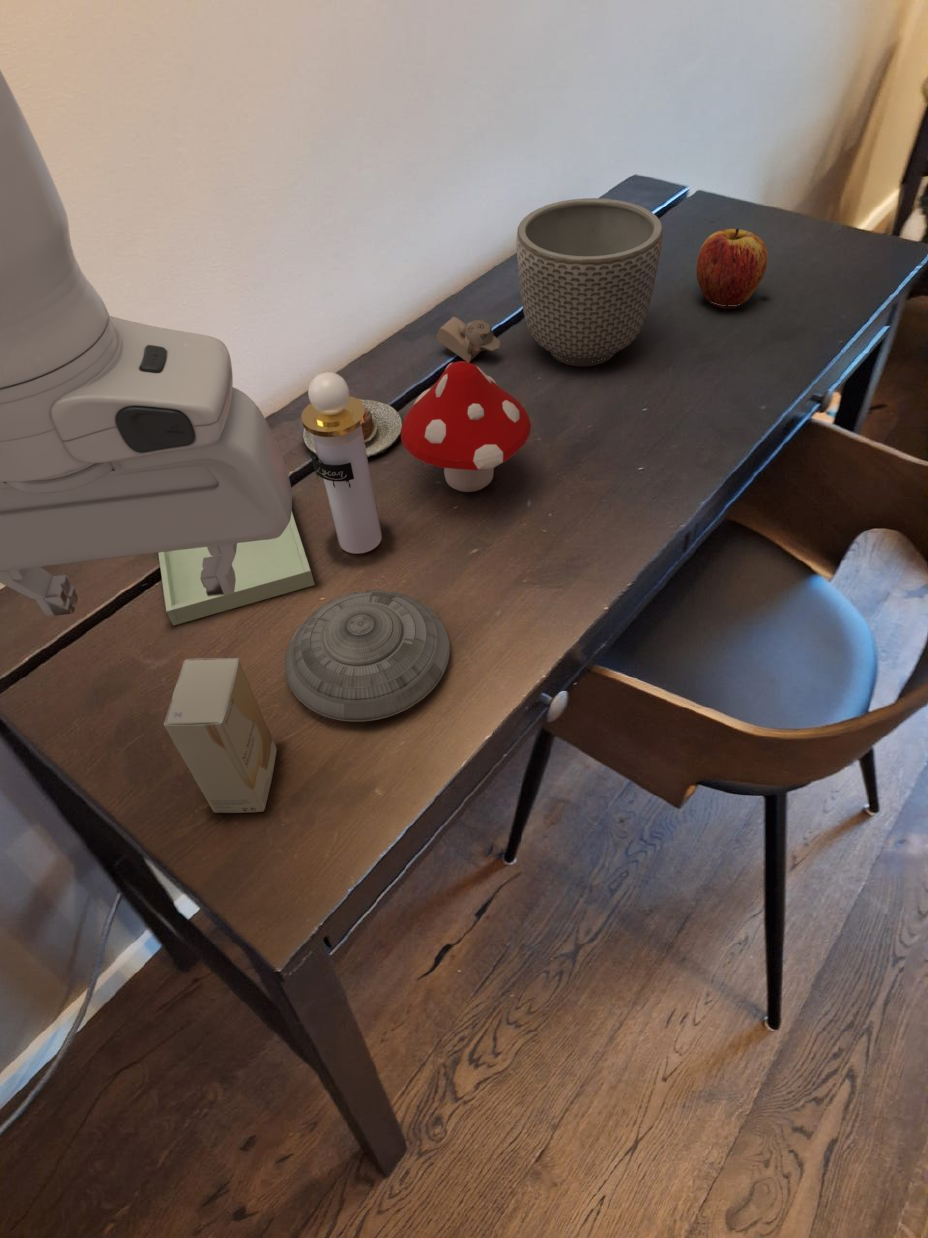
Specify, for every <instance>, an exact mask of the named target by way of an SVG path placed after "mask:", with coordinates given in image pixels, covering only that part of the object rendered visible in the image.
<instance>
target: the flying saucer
mask: <svg viewBox="0 0 928 1238" xmlns="http://www.w3.org/2000/svg"><path fill="white" fill-rule="evenodd" d="M450 645H451V644H450V639H449V634H448V631H447V629H446V627H445V625H444V623H443V622H442V620H441V619H440V617H439V616H438V615H437V614H436V613H435V612H434V611H433V610H432V609H431V608H429V607H428V606H427V605H426V604H424V603H423V602H421V601H419V600H418V599H415V598H414V597H411V596H409V595H406V594H404V593H400V592H397V591H391V590H380V589H373V590H369V589H368V590H362V591H361V590H360V591H355V592H350V593H347V594H344V595H340V596H338V597H336V598H334V599H331V600H329V601H328V602H326V603H324V604H322V605H320V607H318V608H317V609H316V610H314V611H313V612H312V613H310V614H309V615H308V616H307V617H306V618H305V619H304V620H303V621H302V622H301V624H299V626H298V628H297V629H296V630H295V631H294V634H293V635H292V637H291V639H290V641H289V643H288V646H287V649H286V652H285V658H284V674H285V678H286V681H287V684H288V687H289V689H290V691H291V692H292V694H293V695H294V697H296V699H297V700H298V701H299V702H300V703H301V704H302V705H304V706H305V707H306V708H308V709H309V710H311V711H313V712H314V713H316V714H318V715H321V716H323V717H326V718H329V719H332V720H337V721H343V722H356V723H359V722H360V723H361V722H368V721H369V722H371V721H377V720H382V719H385V718H389V717H392V716H395V715H398V714H400V713H402V712H404V711H406V710H408V709H410V708H412V707H413V706H415V705H416V704H418V703H420V702H421V701H422V700H423V699H425V698H426V697H427V696H428V695H429V694H430V693H431V692H432V691H433V690H434V689H435V687H436V686H438V684H439V682H440V680H441V679H442V678H443V676H444V673H445V672H446V669H447V667H448V663H449V659H450V654H451V653H450V652H451V648H450V647H451V646H450Z"/></svg>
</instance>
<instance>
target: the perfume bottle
mask: <svg viewBox="0 0 928 1238" xmlns="http://www.w3.org/2000/svg"><path fill="white" fill-rule="evenodd" d="M307 395H308V400H309V402H310V403H309V404H307V406H305V407H304V409H303V411H302V413H301V423H302V426H303V429H304V428H305V429H306V430H307V431H308V432H309V433H311V434H313V439H314V443H315V447H316V451H317V455H316V454H315V455H314V453H315V452H314V453H313V452H312V451H310V457H311V462H312V465H313V469H314V470H313V471H314V472H315V474H316V477H317V482H318V483H320V480H319V478H321V479H322V480H323V484H324V488H325V492H326V497H327V501H328V504H329V509H330V513H331V517H332V521H333V525H334V529H335V533H336V537H337V542H338V545H339V547H340V548H341V549H342V550H343V551H345V552H347V553H350V554H365V553H368V552H371V551H372V550H374V549H375V548H377V547H378V546H379V544H380V543H381V541H382V537H383V535H382V528H381V524H380V519H379V512H378V508H377V501H376V497H375V491H374V486H373V480H372V475H371V471H370V465H369V461H368V459H369V458H368V457H367V454H366V448H365V443H364V438H363V432H362V427H361V424H362V423H363V422H364V420H365V417H366V412H365V407H364V405H363V403H362V402H361V401H360V400H358V399H359V398H357V397H354V396H352V395H351V394H350V387H349V385H348V383H347V381H346V380H345V379H344V377H342V376H340V374H338V373H335V372H333V371H324V372H321V373H318V374H316V375H315V376H314V377H313V378H312V379H311V381H310V383H309V385H308V388H307ZM309 448H310V447H309ZM309 448H308V449H309ZM315 456H316V457H317V459H316V457H315Z"/></svg>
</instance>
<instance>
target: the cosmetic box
mask: <svg viewBox="0 0 928 1238" xmlns="http://www.w3.org/2000/svg"><path fill="white" fill-rule="evenodd" d="M182 663H183V664H182V667H181V669H180V672H179V675H178V678H177V682H176V684H175V687H174V688H173V689H174V690H173V693H172V697H171V700H170V703H169V705H168V710H167V713H166V716H165V719H164V722H163V727H164V728H165V730H166V732H167V733H168V735H169V737H170V738H171V740H172V742H173V744H174V746H175V747H176V749H177V751H178V753H179V754H180V756H181V758H182V760H183V762H184V763H185V765H186V766H187V768H188V770H189V772H190V773H191V775H192V777H193V779H194V780H195V782H196V784H197V785H198V787H199V789H200V791H201V793H202V795H203V796H204V798H205V800H206V802H207V803H208V805H209V807H210V808H211V811H212V812H213V813H215V814H218V813H219V814H220V813H221V814H242V813H243V814H244V813H245V814H246V813H263V812H264V811H265V809H266V805H267V801H268V797H269V793H270V788H271V784H272V779H273V776H274V775H273V774H274V770H275V763H276V758H277V757H276V756H277V751H278V749H277V746H276V744H275V741H274V739H273V736H272V735H271V732H270V730H269V727H268V725H267V723H266V720H265V718H264V715H263V713H262V711H261V708H260V706H259V704H258V701H257V699H256V696H255V695H254V691H253V689H252V686H251V685H250V682H249V680H248V677H247V675H246V673H245V670H244V668H243V665H242V663H241V660H240V659H239V658H238V657H212V658H211V657H210V658H207V657H203V658H202V657H201V658H186V659H184V660H183V662H182Z"/></svg>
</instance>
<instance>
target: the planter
mask: <svg viewBox="0 0 928 1238" xmlns="http://www.w3.org/2000/svg"><path fill="white" fill-rule="evenodd" d="M663 238H664V237H663V225H662V222H661V220H660V219H659V217H658V216H657V215H656V214H655V213H653V212H652V211H650V210H649V209H647V208H645V207H643V206H641V205H638V204H636V203H632V202H629V201H625V200H618V199H611V198H602V197H601V198H598V197H597V198H596V197H589V198H586V197H585V198H575V199H568V200H562V201H557V202H553V203H550V204H547V205H544V206H541V207H539V208H537V209H535V210H533V211H531V212H530V213H529V214H527V215H526V216H524V217H523V219H522V220H521V221H520V223H519V225H518V226H517V230H516V243H515V244H516V259H517V270H518V271H517V272H518V283H519V292H520V300H521V306H522V312H523V316H524V317H523V318H524V322H525V325H526V328H527V330H528V332H529V334H530V336H531V338H532V339H533V340H534V341H535V342H536V343H537V345H539V346H540V347H541V348H543V349H544V350H545V351H547V352H549V353H550V354H551V356H552V357H553V358H554V359H555V360H557V361H558V362H560V363H562V364H564V365H568V366H572V367H582V368H585V367H592V366H598V365H601V364H604V363H605V362H607V361H609V360H611V359H612V358H613V357H614V356H615V354H616V353H618V352H620V351H622V350H623V349H625V348H626V347H628V346H629V345H630V344H631V343H632V342H634V340H635V339H636V338H637V337H638V336H639V334H640V332H641V330H642V328H643V326H644V324H645V321H646V318H647V316H648V311H649V308H650V304H651V301H652V296H653V292H654V287H655V283H656V278H657V271H658V266H659V260H660V256H661V252H662V246H663V245H662V244H663ZM552 353H553V354H552ZM554 354H555V355H557V356H558V357H557V356H555V355H554ZM610 355H611V356H610ZM559 357H560V358H559ZM561 358H562V359H561ZM604 358H605V359H604ZM601 359H602V360H601ZM567 360H568V361H567ZM598 360H599V361H598ZM572 361H573V362H572ZM592 361H593V362H592Z"/></svg>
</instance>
